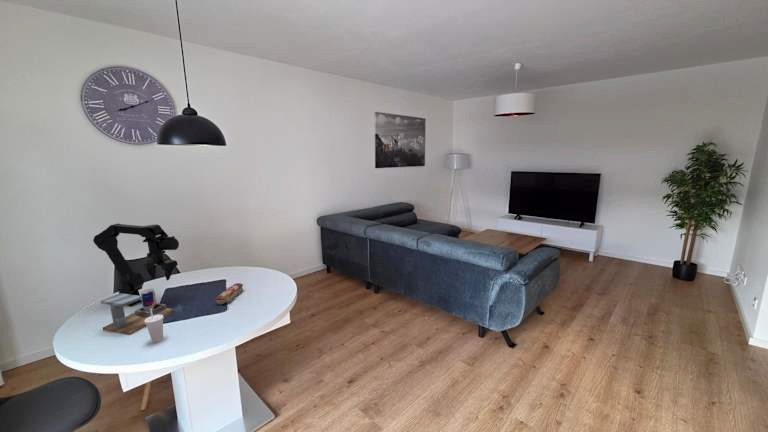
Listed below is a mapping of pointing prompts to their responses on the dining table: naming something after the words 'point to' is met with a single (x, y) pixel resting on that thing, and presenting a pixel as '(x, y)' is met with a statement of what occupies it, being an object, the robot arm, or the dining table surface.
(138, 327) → the socket board
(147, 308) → the energy drink
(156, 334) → the smoothie
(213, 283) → the dining table surface
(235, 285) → the pencil case
